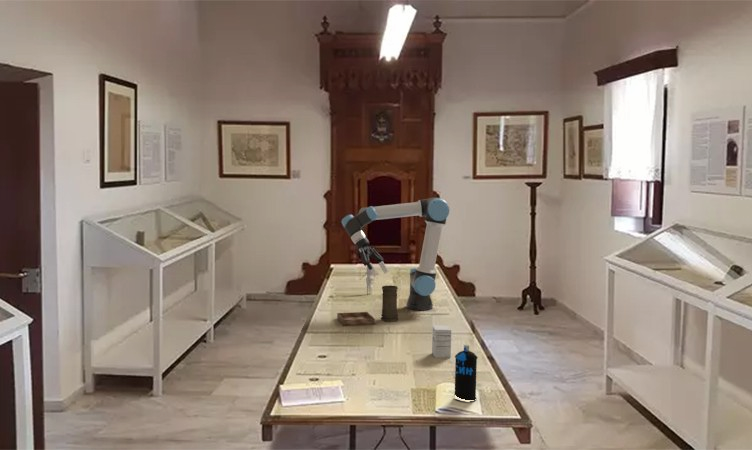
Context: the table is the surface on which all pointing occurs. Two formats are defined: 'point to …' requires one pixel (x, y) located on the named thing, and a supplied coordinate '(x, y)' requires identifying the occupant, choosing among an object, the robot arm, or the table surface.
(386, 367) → the table surface
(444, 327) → the supplement box
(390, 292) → the container
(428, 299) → the robot arm
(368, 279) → the human figurine
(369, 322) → the walnut tray
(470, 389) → the aerosol can
